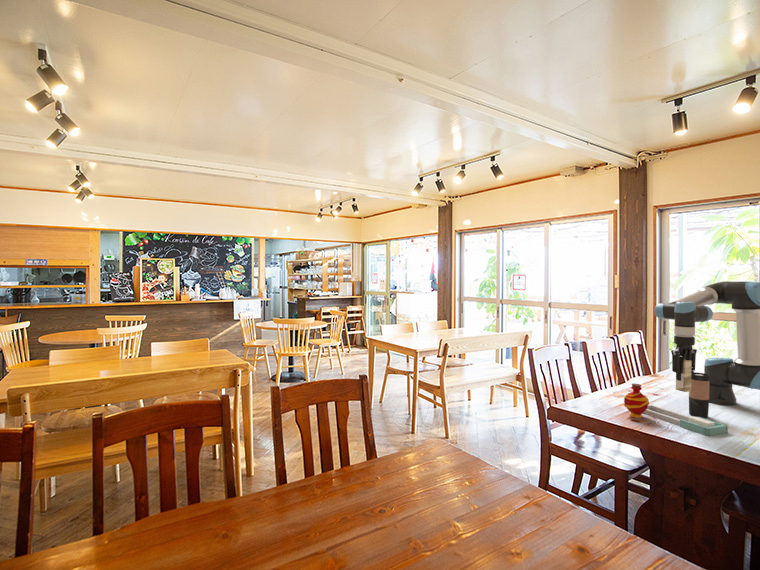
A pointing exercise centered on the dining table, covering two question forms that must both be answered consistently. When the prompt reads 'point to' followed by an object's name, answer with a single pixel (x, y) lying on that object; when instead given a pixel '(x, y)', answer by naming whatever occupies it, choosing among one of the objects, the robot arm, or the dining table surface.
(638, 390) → the potion bottle
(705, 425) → the cube
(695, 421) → the cube
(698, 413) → the travel mug
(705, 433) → the tray
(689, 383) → the light wood tall block
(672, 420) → the slot rail
